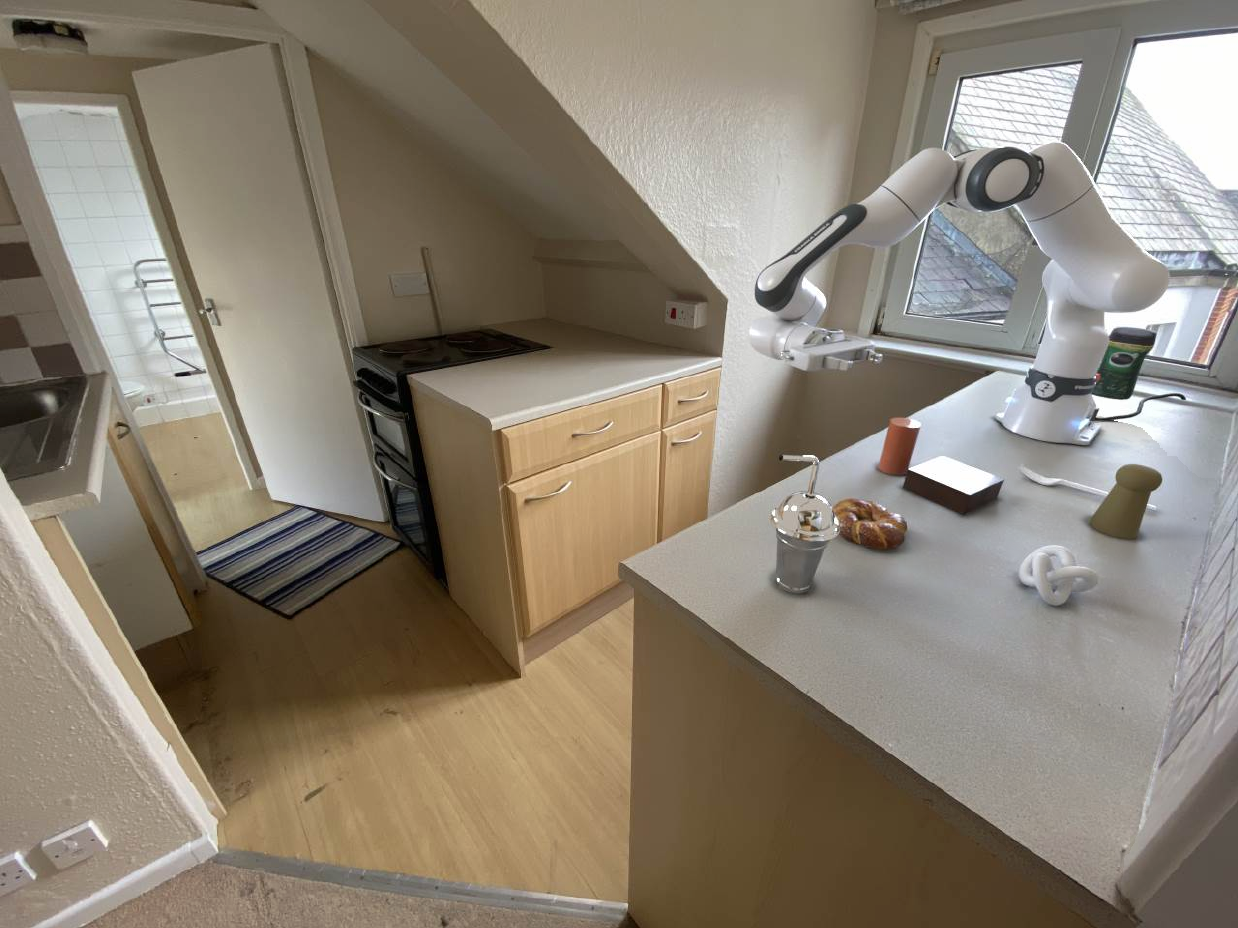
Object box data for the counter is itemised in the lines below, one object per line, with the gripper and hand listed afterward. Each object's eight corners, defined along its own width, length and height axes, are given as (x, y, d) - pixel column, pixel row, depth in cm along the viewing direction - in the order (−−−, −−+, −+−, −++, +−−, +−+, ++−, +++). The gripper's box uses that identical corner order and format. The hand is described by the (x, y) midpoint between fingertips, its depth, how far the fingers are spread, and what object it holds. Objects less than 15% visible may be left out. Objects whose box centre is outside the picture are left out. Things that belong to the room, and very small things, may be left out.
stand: (936, 474, 102) (942, 455, 100) (997, 499, 94) (1004, 479, 92) (902, 488, 97) (907, 468, 95) (963, 515, 89) (970, 495, 87)
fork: (1155, 515, 89) (1160, 505, 89) (1015, 477, 101) (1018, 468, 101) (1155, 508, 92) (1160, 498, 91) (1018, 471, 104) (1021, 462, 103)
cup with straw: (830, 607, 68) (864, 469, 59) (758, 598, 69) (781, 462, 60) (820, 567, 75) (848, 439, 67) (755, 560, 77) (775, 433, 68)
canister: (888, 461, 107) (901, 415, 102) (912, 471, 103) (926, 424, 98) (872, 467, 104) (884, 420, 100) (896, 478, 100) (910, 429, 96)
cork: (1146, 540, 83) (1181, 479, 78) (1102, 536, 84) (1133, 474, 79) (1122, 520, 88) (1152, 461, 83) (1081, 516, 89) (1108, 457, 84)
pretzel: (811, 519, 87) (815, 499, 85) (861, 506, 91) (865, 487, 89) (868, 560, 77) (873, 538, 76) (921, 543, 81) (927, 523, 79)
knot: (1067, 621, 66) (1086, 584, 64) (998, 585, 72) (1013, 551, 70) (1092, 600, 70) (1111, 564, 67) (1025, 568, 76) (1040, 534, 73)
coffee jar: (1131, 396, 146) (1162, 328, 137) (1127, 403, 141) (1160, 333, 132) (1086, 388, 152) (1114, 323, 144) (1082, 394, 147) (1110, 327, 139)
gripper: (777, 338, 108) (833, 354, 98) (842, 328, 118) (900, 341, 107) (772, 368, 111) (826, 386, 100) (837, 356, 121) (892, 371, 110)
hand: (865, 363), depth 104 cm, fingers open, 8 cm apart
